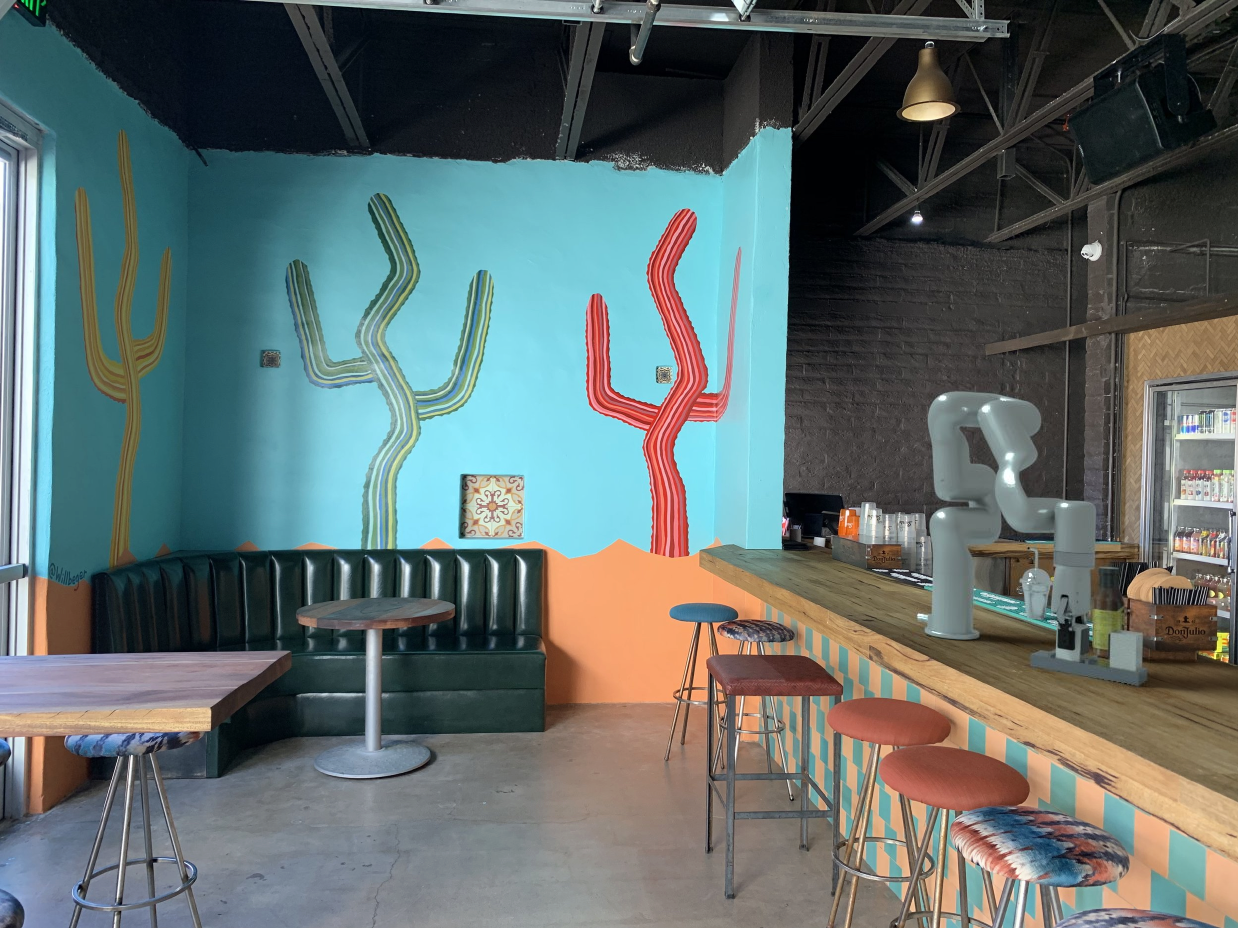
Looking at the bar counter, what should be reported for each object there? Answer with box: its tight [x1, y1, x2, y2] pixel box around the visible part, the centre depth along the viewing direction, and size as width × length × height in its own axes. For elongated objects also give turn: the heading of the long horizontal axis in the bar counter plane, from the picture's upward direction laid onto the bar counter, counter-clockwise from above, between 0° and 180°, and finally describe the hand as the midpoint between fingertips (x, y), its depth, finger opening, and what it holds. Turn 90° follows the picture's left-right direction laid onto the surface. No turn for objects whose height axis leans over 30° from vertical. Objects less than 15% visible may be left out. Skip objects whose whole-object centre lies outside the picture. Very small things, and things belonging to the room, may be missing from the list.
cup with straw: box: [1018, 547, 1053, 621], centre depth 232 cm, size 8×9×20 cm
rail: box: [1029, 630, 1148, 687], centre depth 172 cm, size 20×6×10 cm, turn 44°
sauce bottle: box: [1092, 566, 1126, 659], centre depth 188 cm, size 7×6×20 cm
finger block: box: [1055, 621, 1091, 662], centre depth 174 cm, size 5×4×7 cm
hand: (1071, 646), depth 174 cm, fingers open, 6 cm apart
